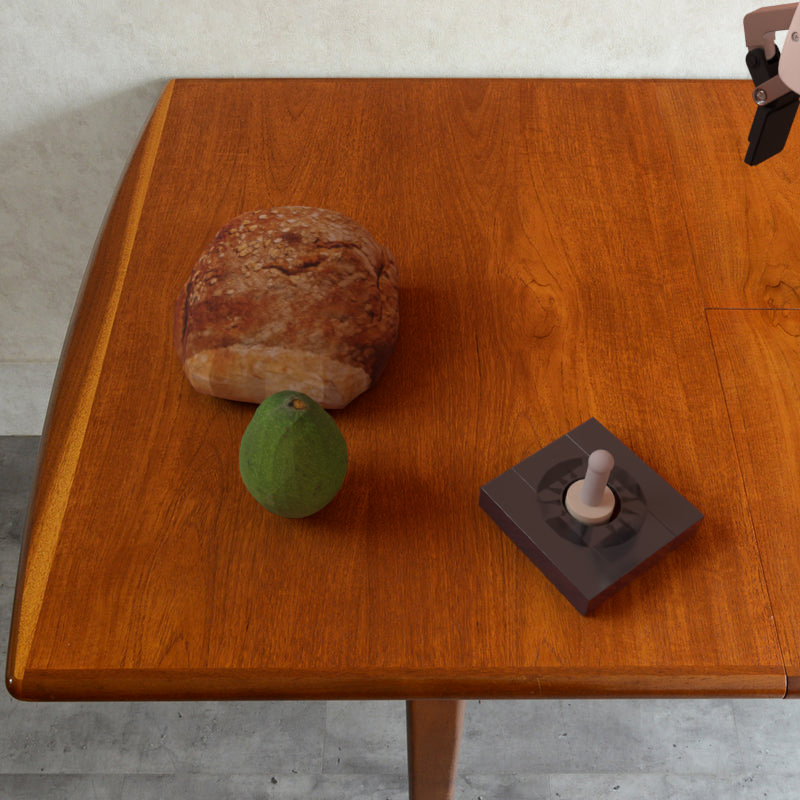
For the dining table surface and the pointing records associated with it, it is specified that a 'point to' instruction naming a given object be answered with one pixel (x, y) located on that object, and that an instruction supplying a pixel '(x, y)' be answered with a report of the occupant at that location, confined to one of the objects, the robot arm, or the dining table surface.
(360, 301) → the bread
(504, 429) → the dining table surface
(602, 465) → the stopper
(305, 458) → the fruit
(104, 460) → the dining table surface
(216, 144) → the dining table surface
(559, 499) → the sink plate
